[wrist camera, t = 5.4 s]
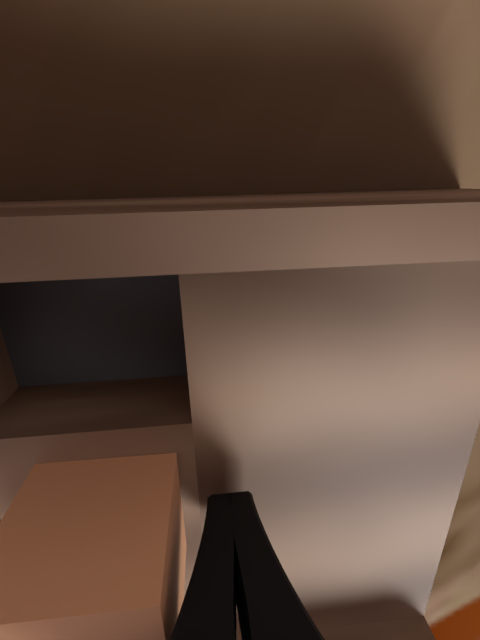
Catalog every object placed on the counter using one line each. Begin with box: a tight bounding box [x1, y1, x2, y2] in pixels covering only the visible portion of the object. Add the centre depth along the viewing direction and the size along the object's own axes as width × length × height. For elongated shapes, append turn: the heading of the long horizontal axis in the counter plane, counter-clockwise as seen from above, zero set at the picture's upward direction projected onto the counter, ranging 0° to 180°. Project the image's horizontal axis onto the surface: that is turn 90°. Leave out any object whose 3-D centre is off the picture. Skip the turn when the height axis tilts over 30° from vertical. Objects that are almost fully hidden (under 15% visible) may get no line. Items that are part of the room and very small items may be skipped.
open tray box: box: [0, 189, 480, 640], centre depth 11 cm, size 18×30×6 cm, turn 91°
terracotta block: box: [0, 453, 187, 640], centre depth 9 cm, size 4×4×4 cm
